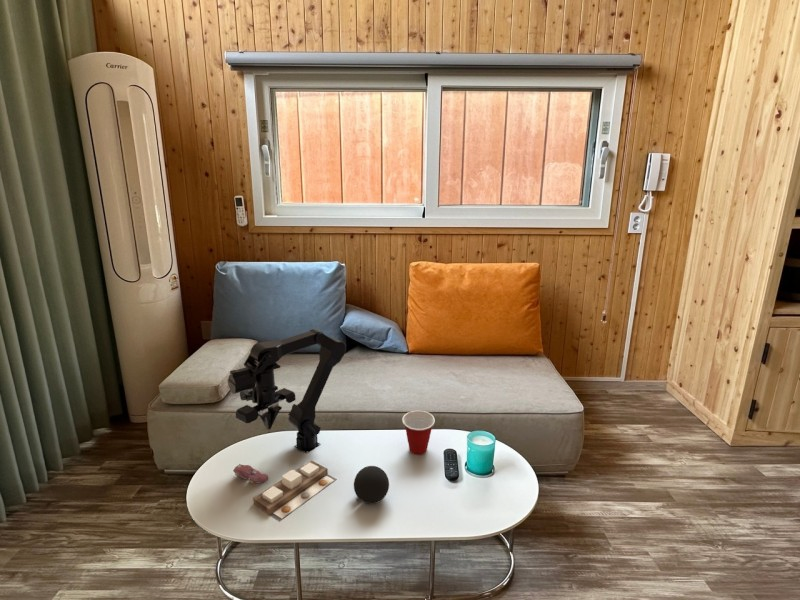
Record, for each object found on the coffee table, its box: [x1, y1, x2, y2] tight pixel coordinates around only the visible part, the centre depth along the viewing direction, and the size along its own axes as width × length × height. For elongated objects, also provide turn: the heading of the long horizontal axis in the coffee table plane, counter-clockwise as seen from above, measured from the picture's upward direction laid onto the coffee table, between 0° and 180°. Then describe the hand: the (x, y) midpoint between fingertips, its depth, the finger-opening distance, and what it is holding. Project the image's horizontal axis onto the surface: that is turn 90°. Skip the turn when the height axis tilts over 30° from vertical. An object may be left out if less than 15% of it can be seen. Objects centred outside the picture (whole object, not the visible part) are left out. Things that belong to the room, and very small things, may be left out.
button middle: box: [281, 469, 302, 490], centre depth 135 cm, size 4×4×3 cm
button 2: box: [299, 462, 319, 478], centre depth 141 cm, size 4×4×3 cm
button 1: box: [261, 485, 283, 504], centre depth 130 cm, size 4×4×3 cm
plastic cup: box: [402, 410, 436, 456], centre depth 155 cm, size 11×11×12 cm
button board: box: [252, 459, 338, 523], centre depth 135 cm, size 22×11×3 cm, turn 144°
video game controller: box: [232, 463, 270, 484], centre depth 140 cm, size 10×5×7 cm, turn 63°
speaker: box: [353, 465, 390, 505], centre depth 132 cm, size 10×10×10 cm
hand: (268, 429), depth 146 cm, fingers closed
